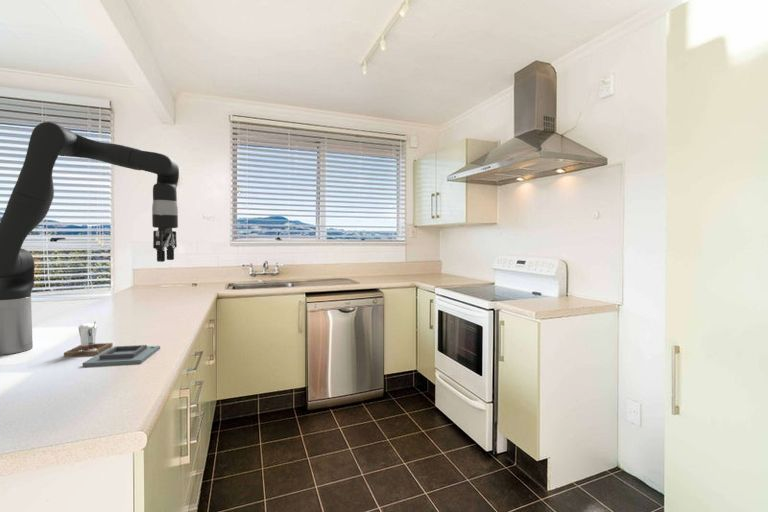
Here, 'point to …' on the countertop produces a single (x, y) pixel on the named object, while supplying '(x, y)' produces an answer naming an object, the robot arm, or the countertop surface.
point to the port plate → (122, 355)
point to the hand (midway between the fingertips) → (165, 260)
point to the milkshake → (88, 336)
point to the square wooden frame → (77, 351)
